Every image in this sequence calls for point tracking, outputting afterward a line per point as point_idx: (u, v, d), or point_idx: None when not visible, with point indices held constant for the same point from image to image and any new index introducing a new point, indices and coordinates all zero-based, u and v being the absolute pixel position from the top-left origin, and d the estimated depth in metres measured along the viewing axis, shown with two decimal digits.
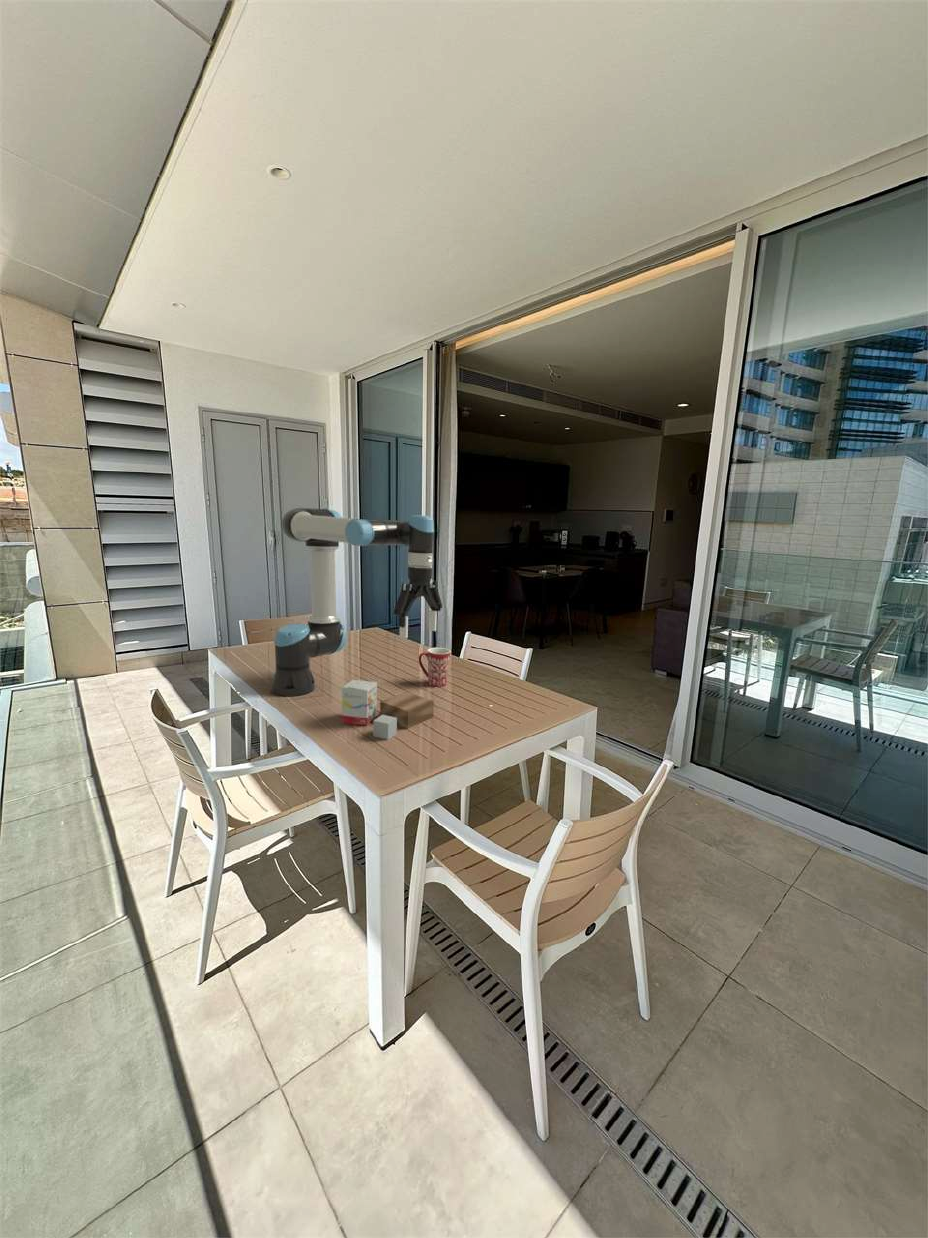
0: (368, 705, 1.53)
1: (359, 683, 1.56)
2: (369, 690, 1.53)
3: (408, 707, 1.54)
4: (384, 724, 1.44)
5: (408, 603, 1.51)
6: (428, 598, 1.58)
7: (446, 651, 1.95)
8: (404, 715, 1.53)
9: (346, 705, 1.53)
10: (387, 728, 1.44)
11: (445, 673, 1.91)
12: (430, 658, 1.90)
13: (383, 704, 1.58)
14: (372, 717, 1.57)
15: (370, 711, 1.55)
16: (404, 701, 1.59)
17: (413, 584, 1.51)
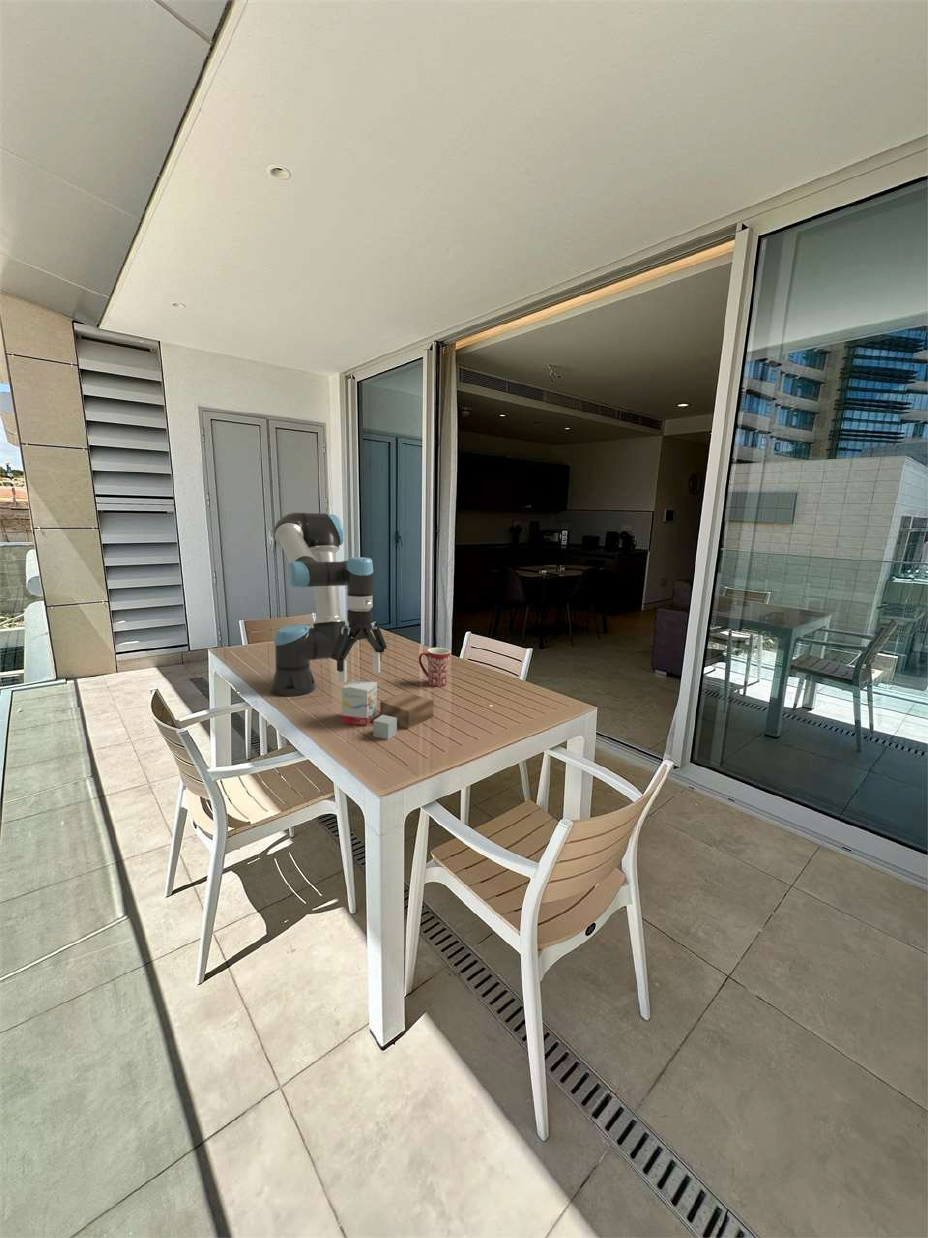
0: (368, 705, 1.53)
1: (359, 683, 1.56)
2: (369, 690, 1.53)
3: (409, 707, 1.54)
4: (384, 724, 1.44)
5: (346, 647, 1.48)
6: (370, 640, 1.55)
7: (446, 651, 1.95)
8: (404, 715, 1.53)
9: (346, 705, 1.53)
10: (387, 728, 1.44)
11: (445, 673, 1.91)
12: (430, 658, 1.90)
13: (383, 704, 1.57)
14: (372, 717, 1.57)
15: (370, 711, 1.55)
16: (404, 701, 1.59)
17: (352, 627, 1.48)
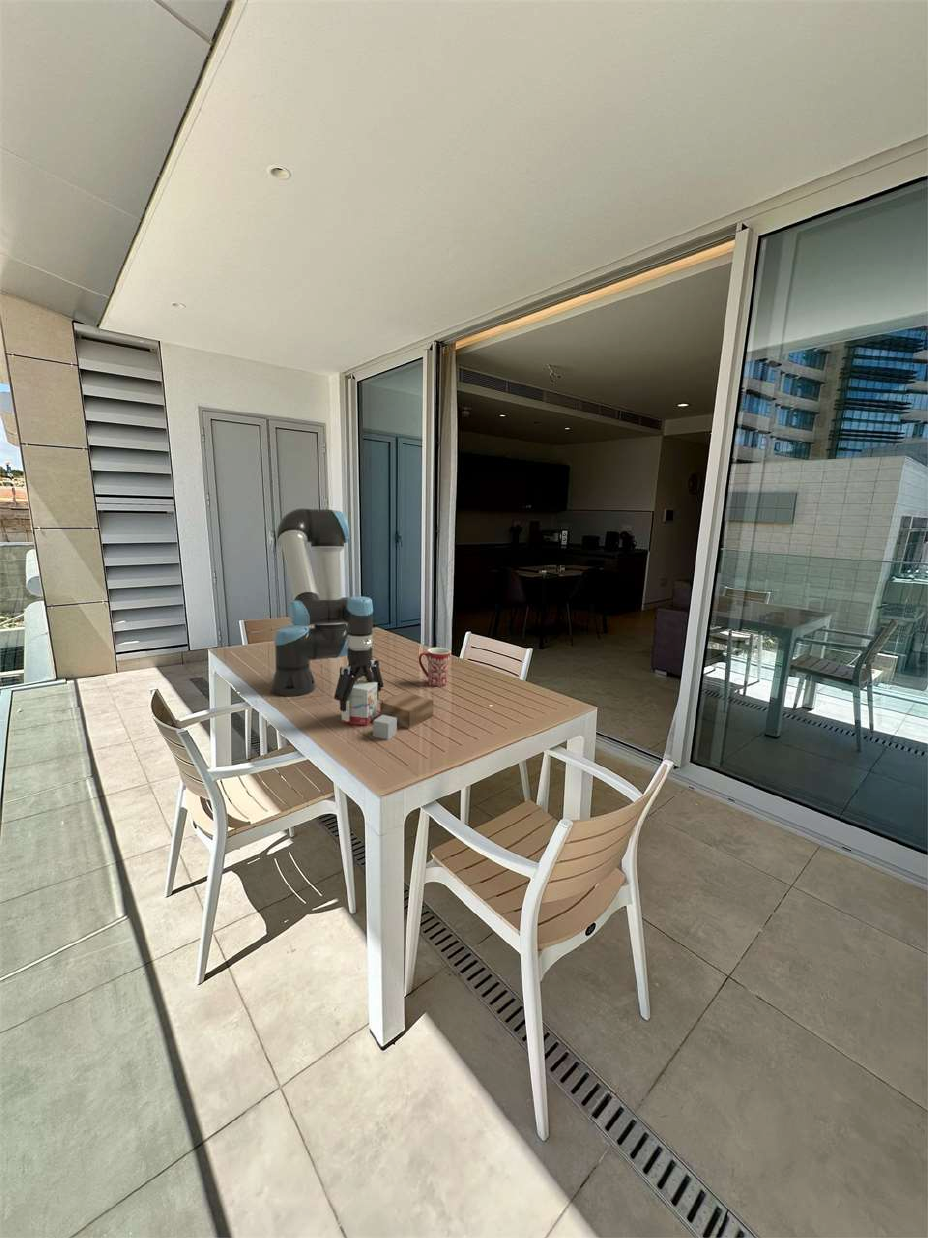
0: (368, 705, 1.53)
1: (360, 683, 1.56)
2: (370, 689, 1.53)
3: (409, 707, 1.54)
4: (384, 724, 1.44)
5: (348, 687, 1.51)
6: (368, 678, 1.58)
7: (446, 651, 1.95)
8: (405, 715, 1.53)
9: None
10: (387, 728, 1.44)
11: (445, 673, 1.91)
12: (430, 658, 1.90)
13: (384, 704, 1.57)
14: (372, 717, 1.57)
15: (370, 711, 1.55)
16: (404, 701, 1.59)
17: (351, 667, 1.51)
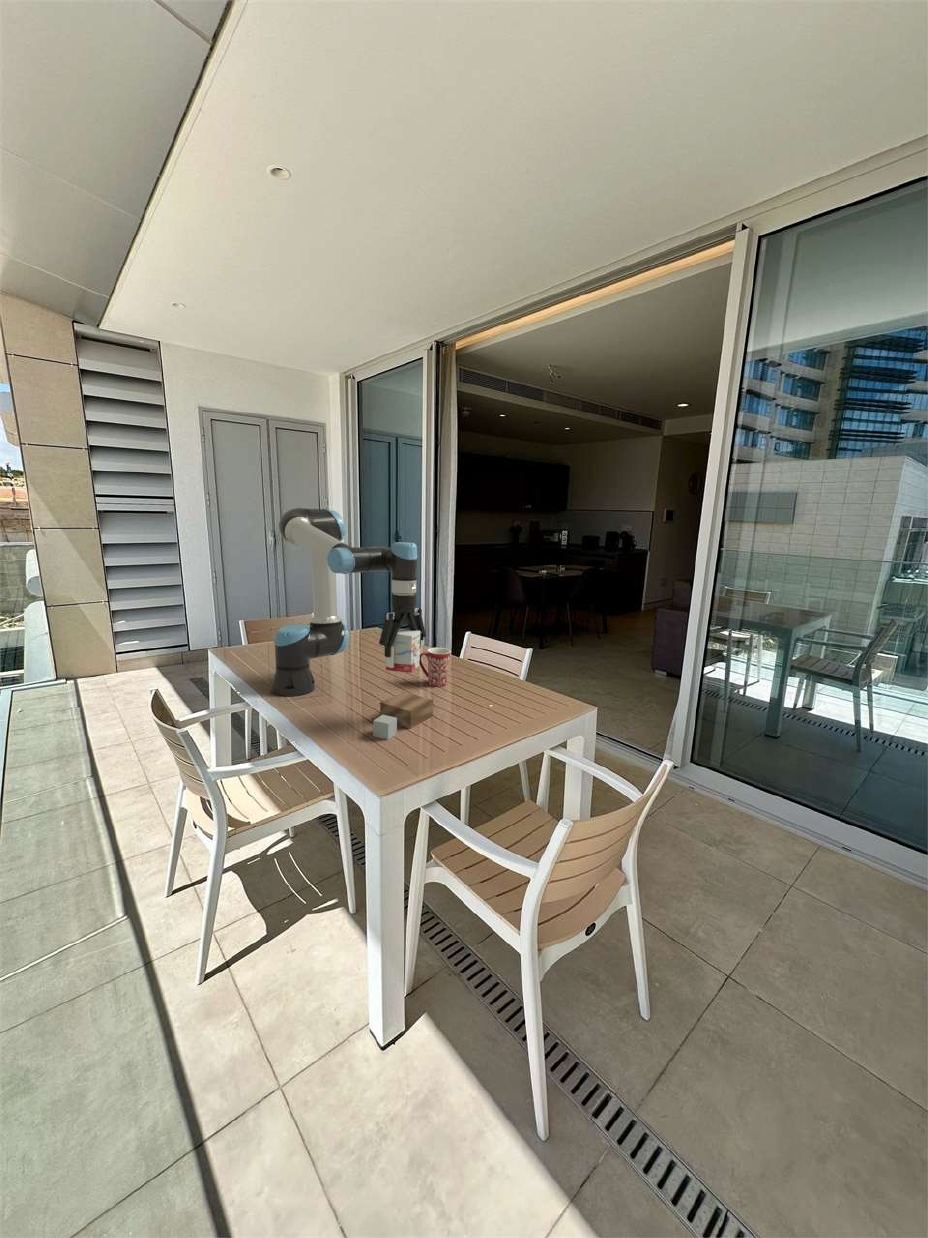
0: (412, 652, 1.51)
1: (403, 631, 1.55)
2: (414, 636, 1.52)
3: (410, 707, 1.54)
4: (384, 724, 1.44)
5: (393, 632, 1.50)
6: (412, 626, 1.56)
7: (446, 651, 1.95)
8: (406, 715, 1.53)
9: None
10: (387, 728, 1.44)
11: (445, 673, 1.91)
12: (430, 658, 1.90)
13: (384, 704, 1.57)
14: (416, 665, 1.56)
15: (414, 659, 1.54)
16: (404, 701, 1.59)
17: (396, 612, 1.50)
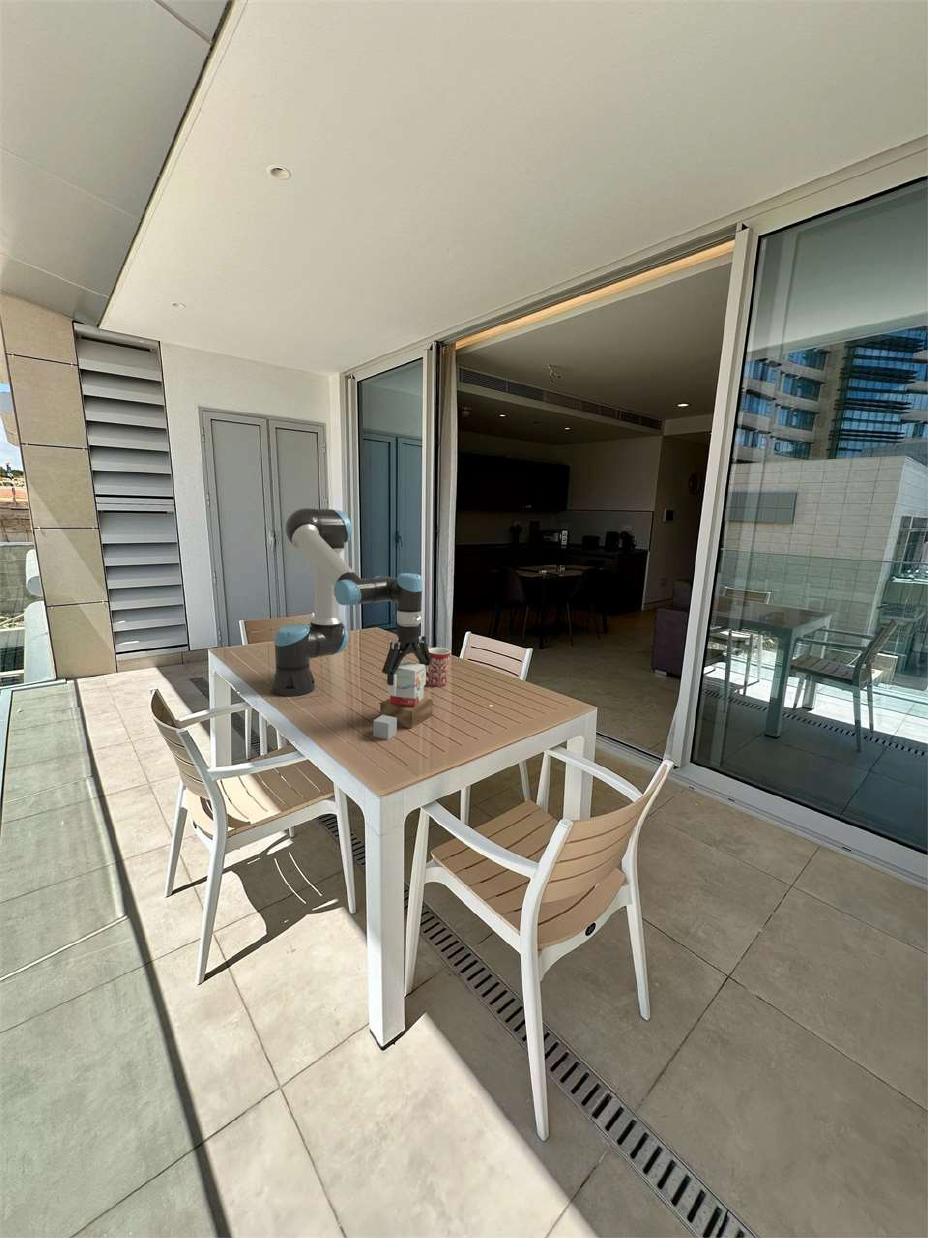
0: (415, 686, 1.54)
1: (407, 665, 1.58)
2: (417, 670, 1.55)
3: (411, 707, 1.55)
4: (384, 724, 1.44)
5: (396, 661, 1.52)
6: (417, 654, 1.59)
7: (446, 651, 1.95)
8: (407, 715, 1.53)
9: None
10: (387, 728, 1.44)
11: (445, 673, 1.91)
12: None
13: (384, 705, 1.56)
14: (419, 698, 1.59)
15: (418, 693, 1.57)
16: None
17: (401, 642, 1.52)
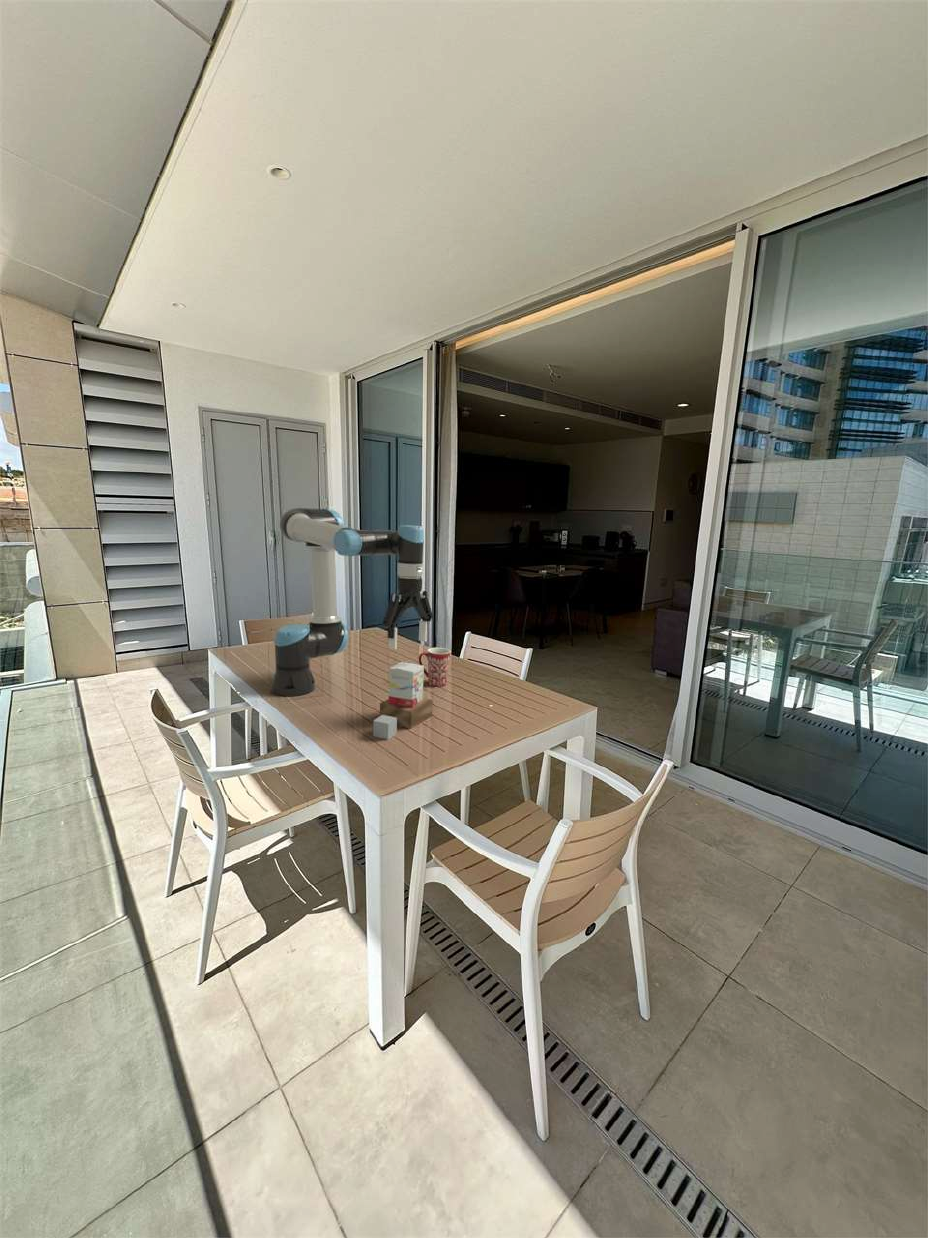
0: (413, 687, 1.54)
1: (406, 665, 1.58)
2: (416, 672, 1.54)
3: (410, 707, 1.54)
4: (384, 724, 1.44)
5: (397, 614, 1.49)
6: (418, 608, 1.56)
7: (446, 651, 1.95)
8: (406, 716, 1.53)
9: (392, 686, 1.55)
10: (387, 728, 1.44)
11: (445, 673, 1.91)
12: (430, 658, 1.90)
13: (384, 705, 1.56)
14: (418, 700, 1.59)
15: (416, 694, 1.56)
16: None
17: (402, 595, 1.49)
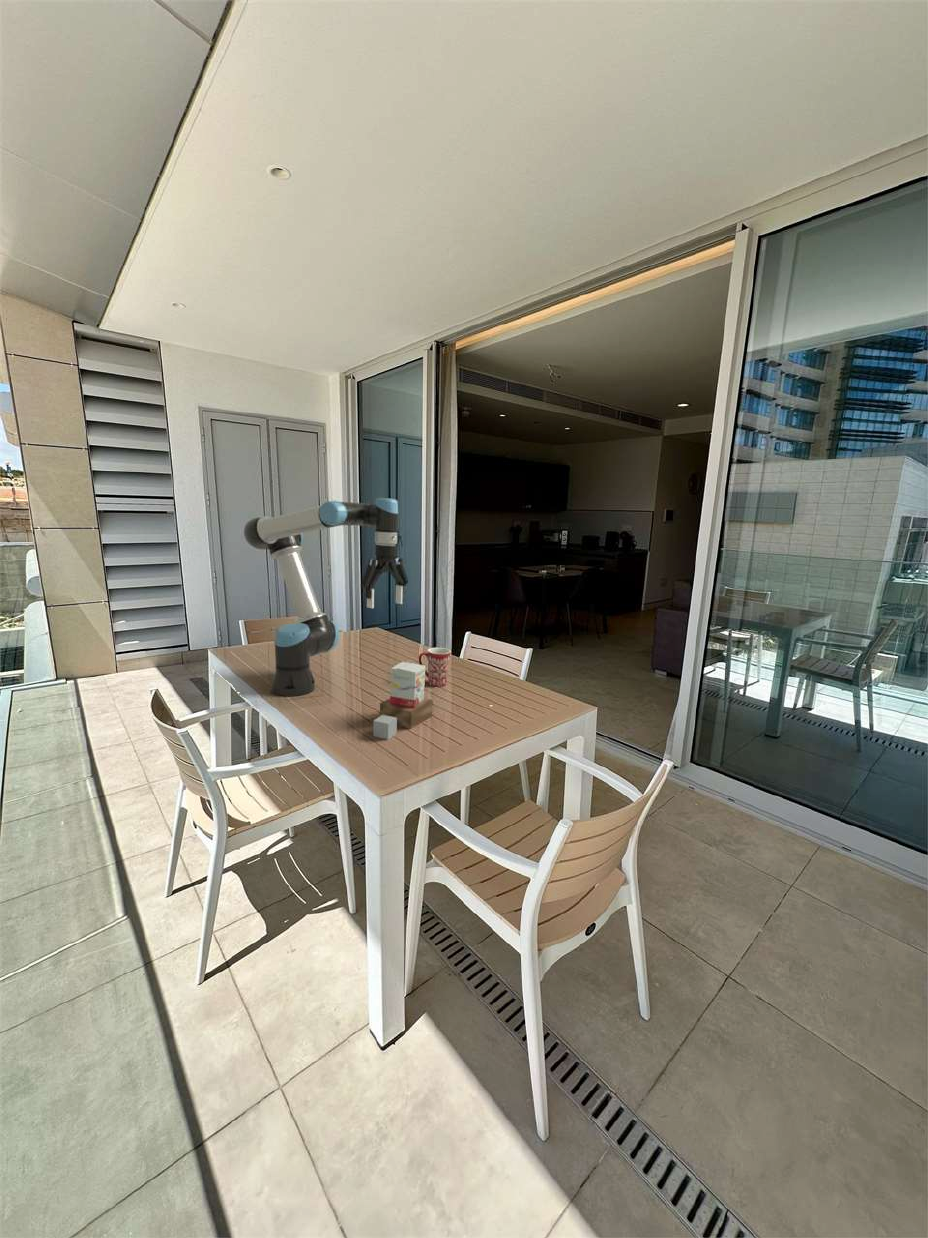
0: (415, 687, 1.54)
1: (408, 665, 1.57)
2: (418, 672, 1.54)
3: (410, 707, 1.54)
4: (384, 724, 1.44)
5: (374, 577, 1.68)
6: (394, 574, 1.76)
7: (446, 651, 1.95)
8: (406, 716, 1.53)
9: (394, 686, 1.55)
10: (387, 728, 1.44)
11: (445, 673, 1.91)
12: (430, 658, 1.90)
13: (383, 705, 1.56)
14: (419, 700, 1.58)
15: (418, 694, 1.56)
16: None
17: (379, 560, 1.68)
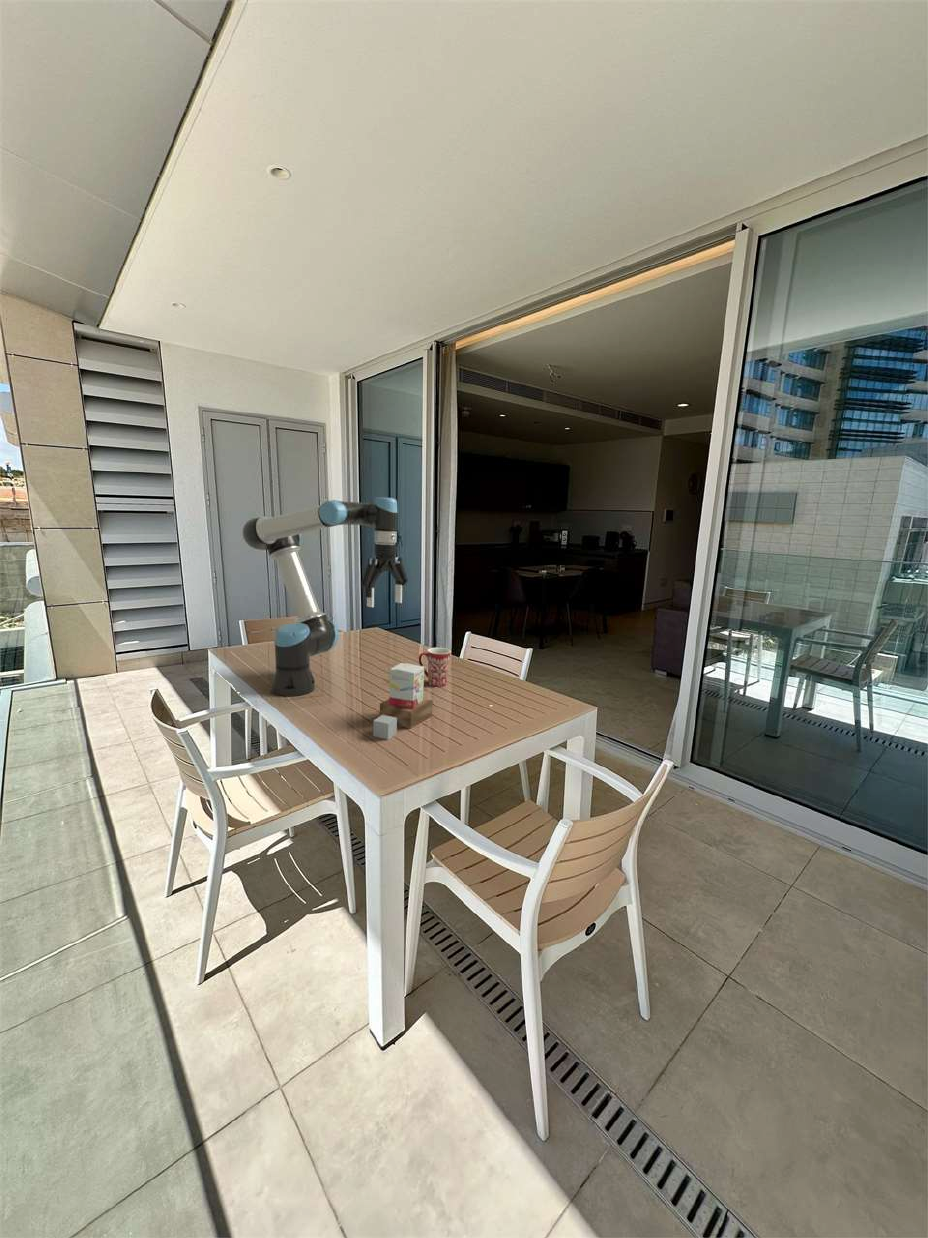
0: (414, 688, 1.54)
1: (407, 666, 1.58)
2: (416, 673, 1.54)
3: (410, 708, 1.54)
4: (384, 724, 1.44)
5: (374, 576, 1.69)
6: (394, 573, 1.76)
7: (446, 651, 1.95)
8: (406, 716, 1.53)
9: (393, 687, 1.55)
10: (387, 728, 1.44)
11: (445, 673, 1.91)
12: (430, 658, 1.90)
13: (383, 706, 1.57)
14: (418, 700, 1.58)
15: (417, 695, 1.56)
16: None
17: (379, 559, 1.69)
